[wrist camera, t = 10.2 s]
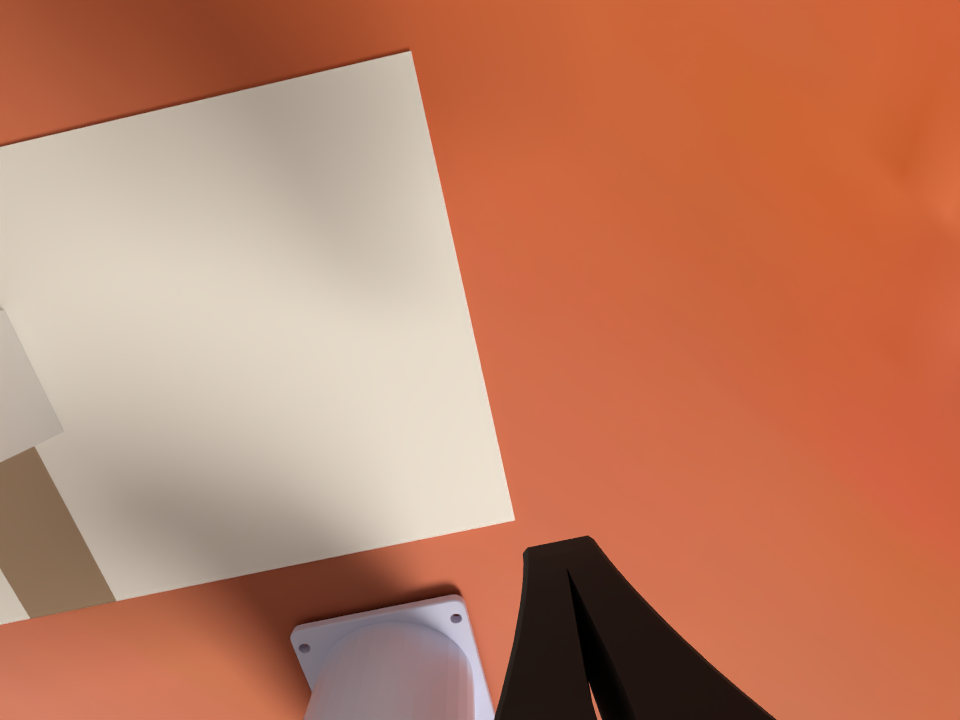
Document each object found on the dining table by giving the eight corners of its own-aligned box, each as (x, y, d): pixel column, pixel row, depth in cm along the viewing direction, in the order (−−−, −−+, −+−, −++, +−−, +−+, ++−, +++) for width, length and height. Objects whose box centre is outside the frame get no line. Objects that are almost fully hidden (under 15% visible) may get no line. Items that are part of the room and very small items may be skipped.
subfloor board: (513, 512, 20) (515, 520, 19) (-81, 632, 20) (-97, 644, 20) (413, 58, 15) (410, 50, 14) (-354, 237, 16) (-387, 237, 15)
